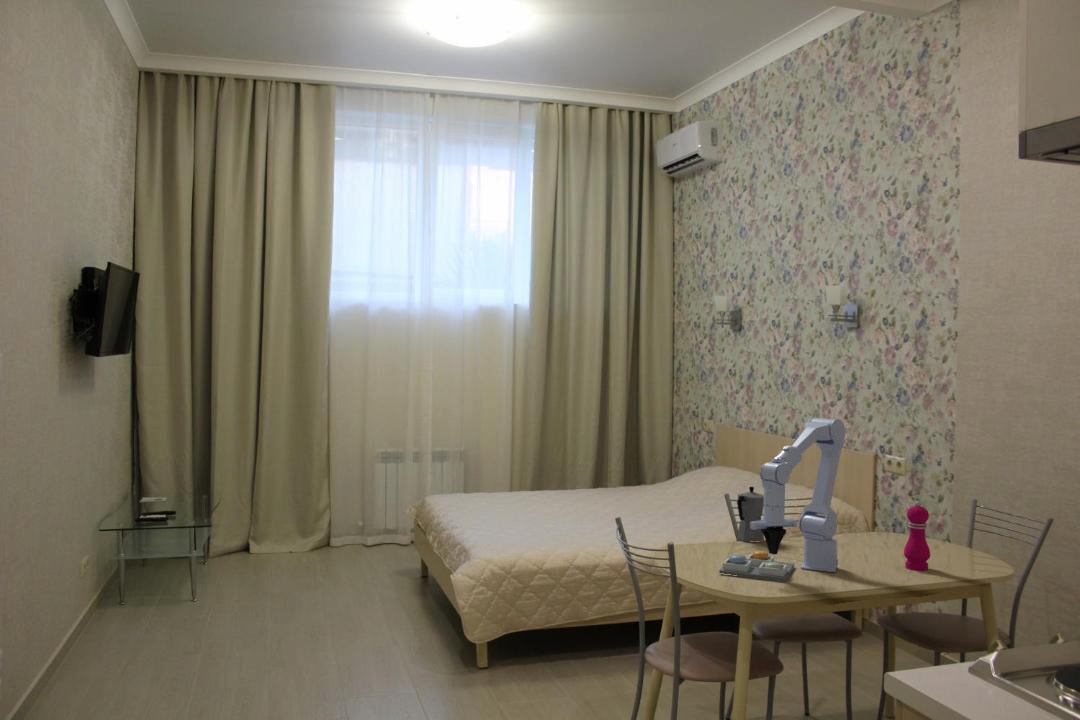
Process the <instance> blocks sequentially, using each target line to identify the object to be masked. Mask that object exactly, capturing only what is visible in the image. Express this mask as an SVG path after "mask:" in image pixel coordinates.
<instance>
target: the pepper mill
mask: <svg viewBox="0 0 1080 720" xmlns="http://www.w3.org/2000/svg"><path fill="white" fill-rule="evenodd" d="M906 517H907V520H909V521H908V527H909V536H908V539H907V542H906V543H905V546H904V549H903V555H904V557H905V558H906V559H907V560H905V563H904V564H905V565H904V568H906V569H908V570H910V571H917V572H918V571H919V572H921V571H922V572H924V571H928V570H929V563H928V562H927V561H929V559H930V558H931V551H930V547H929V545H928V541H927V539H926V529H928V526H927V525H928V524H927V521H928V520H929V519H930V514H929V511H928V509H927V508H925V507H924V506H922V502H921V501H919V500H916V501H915V502H914V506H911V507H909V508H908V509H907V511H906Z"/></svg>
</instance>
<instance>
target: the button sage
mask: <svg viewBox="0 0 1080 720" xmlns="http://www.w3.org/2000/svg"><path fill="white" fill-rule="evenodd" d="M765 567H767V568H776V569H782V565H781V564H780V563H775V562H766V563H765Z"/></svg>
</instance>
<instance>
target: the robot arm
mask: <svg viewBox="0 0 1080 720" xmlns="http://www.w3.org/2000/svg"><path fill="white" fill-rule="evenodd" d="M846 433H847V428H846V427H845V424H844V423H843V420H841V419H839V418H823V417H822V418H821V417H816V416H813V417H812V416H811V417H810V418H808V420H807V421H806V422H805V424H804V430H803V432H801V433H800V435H799V436H798V438H797V439H796V440H795V442H794V443H793V444H792V445H786V446H785V445H784V446H783V448H782V450H781V451H780V452H779V453H778V454H777V455H776V456H775V457H774V458H773V459H772V460H771V461H767V462H765V463H764V464H763V465H761V468H760V471H759V477H760V480H761V482H762V483H761V486H762V489H763V495H764V506H763V513H762V516H763V517H762V519H761V520H759V521H753V522H750V529H753V530H757V529H761V531H762V533H763V535H764V540H765V542H766V546H767V549H768V553H769V554H771V555H773V556H775V555H778V554H779V548H780V546H781V543H782V541H783V538H784V537H785V536H786V534H787V529H786V528H797V527H798V529H799V531H800V533H801V536H802V537H804V538H803V539H804V540H803V541H804V543H803V547H804V548H803V550H804V551H803V563H802V564H801V566H800V568H801V570H802V569H804V570H811V571H812V570H813V571H822V572H829V573H835V572H836V570H837V568H838V565H839V558H838V550H839V549H838V540H837V539H833V537H834V536H836V533H837V529H838V524H837V519H838V518H837V517H838V515H837V513H836V512H835V511H834V509H832V507H831V504H832V498H833V493H834V489H835V483H836V478H837V473H838V468H839V464H840V459H841V458H840V457H841V453H842V450H843V448H844V444H845V443H844V442H845V439H846V438H845V437H846ZM814 444H815V445H816V447H819V448H820V450H821V453H820V459H819V464H818V467H817V468H818V469H817V474H816V478H815V479H816V480H815V482H814V483H815V484H814V489H813V494H812V499H811V502H810V503H809V504H807V505H805V506H804V507H803V509H802V512H801V515H800V516H799V518H798V520H797V519H794V518H789V519H788V518H787V519H786V518H785V510H786V509H785V508H786V507H785V506H786V505H785V503H786V502H785V499H786V497H785V495H786V484H787V483H788V482H789V481H790V479H791V478H790V477H791V474H792V472H793V469H795V468H796V467H797V465H798V464H799V463H800V462H801V461H802V459H803V456H802V454H804V453H805V451H807V450H808V449H810V447H811V446H812V445H814Z"/></svg>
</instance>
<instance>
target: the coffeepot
mask: <svg viewBox="0 0 1080 720" xmlns="http://www.w3.org/2000/svg"><path fill="white" fill-rule="evenodd" d="M754 490H755V487H754V486H749V491H748V492H743V493H738V495H737V500H736V505H737V509H738V510H737V511H738V517H739V520H740V521H739V527H738V530H737V531H738V532H737V537H736V539H737V540H738V541H739V542H744V543H751V542H750V541H762V540H765V537H764V535H763V533H762V531H761V529H757V530H753V529H750V522H753V521H759V520H762V516H763V513H764V494H762V493H757V492H754Z"/></svg>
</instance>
